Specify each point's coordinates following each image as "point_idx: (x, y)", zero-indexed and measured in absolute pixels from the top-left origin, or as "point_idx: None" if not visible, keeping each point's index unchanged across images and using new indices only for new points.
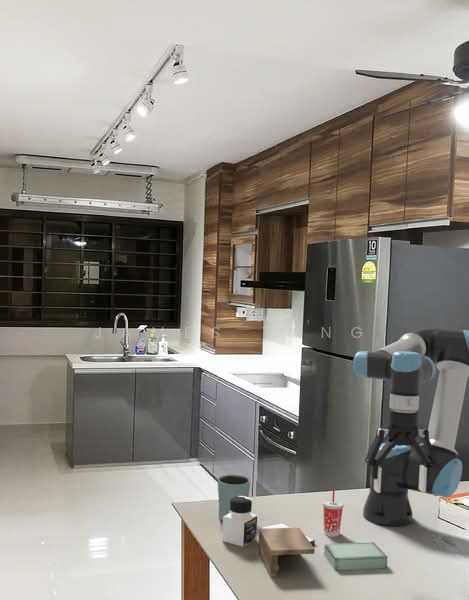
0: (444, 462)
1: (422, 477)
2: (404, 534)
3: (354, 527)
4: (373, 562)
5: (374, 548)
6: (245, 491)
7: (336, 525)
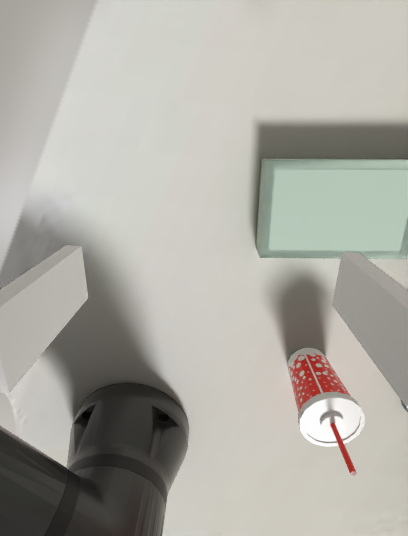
0: None
1: (44, 295)
2: (128, 342)
3: (235, 387)
4: (305, 159)
5: (278, 218)
6: None
7: (312, 363)
